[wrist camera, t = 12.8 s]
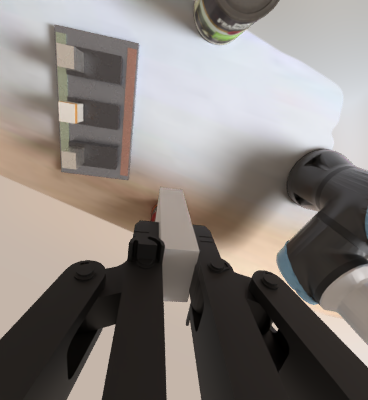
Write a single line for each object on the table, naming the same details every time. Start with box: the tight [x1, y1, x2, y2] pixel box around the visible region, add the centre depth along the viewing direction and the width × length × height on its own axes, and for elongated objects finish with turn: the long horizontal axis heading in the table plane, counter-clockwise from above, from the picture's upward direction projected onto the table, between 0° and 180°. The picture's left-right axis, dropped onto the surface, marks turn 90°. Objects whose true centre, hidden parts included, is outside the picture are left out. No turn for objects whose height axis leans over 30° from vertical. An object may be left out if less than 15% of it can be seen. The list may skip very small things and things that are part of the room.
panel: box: [55, 25, 139, 180], centre depth 41 cm, size 14×26×9 cm, turn 170°
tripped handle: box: [58, 101, 83, 124], centre depth 38 cm, size 2×3×5 cm
